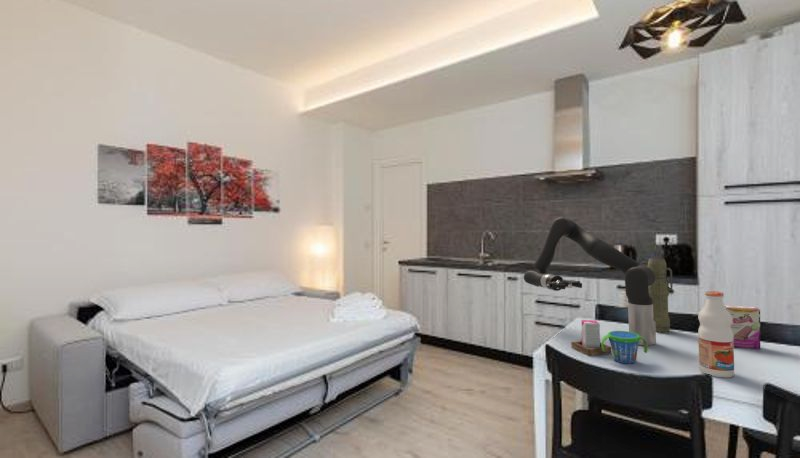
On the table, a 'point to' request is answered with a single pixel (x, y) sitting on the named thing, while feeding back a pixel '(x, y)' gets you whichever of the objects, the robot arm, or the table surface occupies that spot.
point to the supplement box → (590, 333)
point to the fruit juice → (715, 337)
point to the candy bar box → (745, 326)
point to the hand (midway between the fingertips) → (573, 286)
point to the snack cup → (624, 345)
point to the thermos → (660, 293)
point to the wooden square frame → (590, 349)
